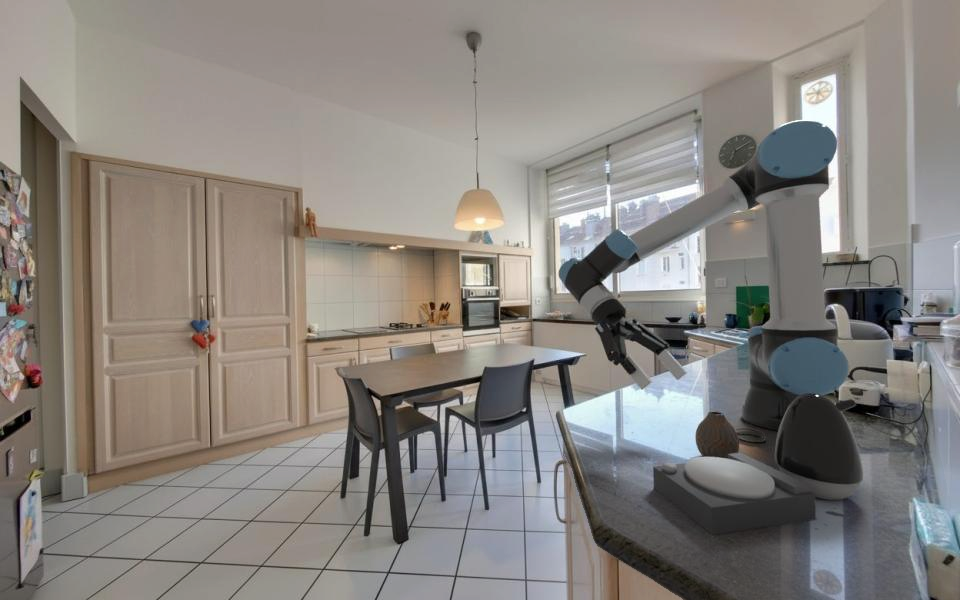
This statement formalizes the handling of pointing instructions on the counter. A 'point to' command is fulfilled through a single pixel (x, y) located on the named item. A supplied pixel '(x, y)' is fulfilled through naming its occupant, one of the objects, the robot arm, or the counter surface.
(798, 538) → the counter surface
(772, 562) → the counter surface
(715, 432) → the vase
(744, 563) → the counter surface
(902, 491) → the counter surface
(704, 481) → the turntable with oval dome
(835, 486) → the pump dispenser
